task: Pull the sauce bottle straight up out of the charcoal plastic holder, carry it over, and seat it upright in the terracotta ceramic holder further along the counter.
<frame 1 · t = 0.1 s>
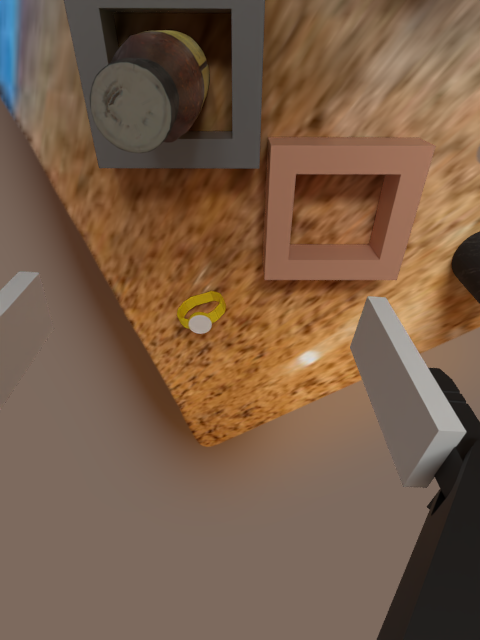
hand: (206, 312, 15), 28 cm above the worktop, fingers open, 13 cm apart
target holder: (332, 206, 41), on the worktop
watch: (203, 297, 48), on the worktop
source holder: (177, 76, 34), on the worktop
sauce bottle: (178, 76, 34), resting in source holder
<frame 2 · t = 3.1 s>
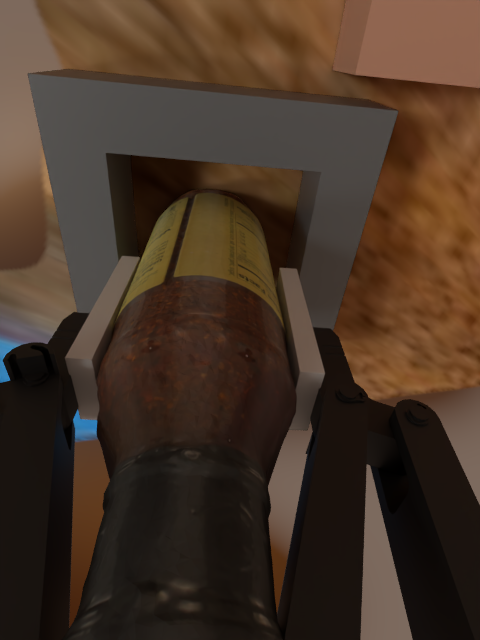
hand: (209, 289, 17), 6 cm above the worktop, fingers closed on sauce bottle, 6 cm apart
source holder: (214, 236, 22), on the worktop
sauce bottle: (214, 234, 22), resting in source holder, touching gripper
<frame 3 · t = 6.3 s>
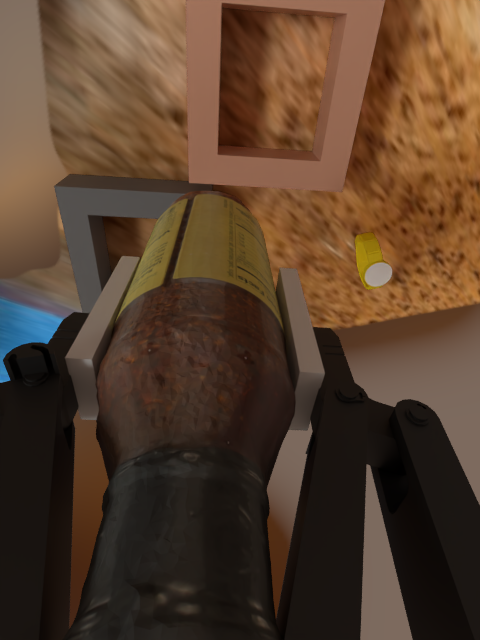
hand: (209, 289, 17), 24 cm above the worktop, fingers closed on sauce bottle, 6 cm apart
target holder: (271, 86, 32), on the worktop
watch: (361, 249, 42), on the worktop
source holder: (148, 248, 41), on the worktop
sauce bottle: (214, 235, 22), point 18 cm above the worktop, touching gripper
when the fingers open (7 cm above the worktop, at t = 9.4 s): sauce bottle drops 1 cm, resting in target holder.
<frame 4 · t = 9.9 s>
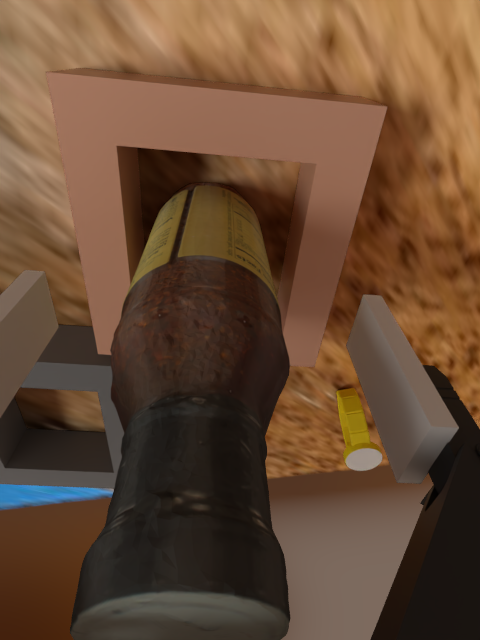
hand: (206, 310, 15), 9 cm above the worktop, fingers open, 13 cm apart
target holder: (216, 226, 23), on the worktop
watch: (344, 399, 32), on the worktop
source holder: (66, 394, 31), on the worktop
sauce bottle: (212, 226, 23), resting in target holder
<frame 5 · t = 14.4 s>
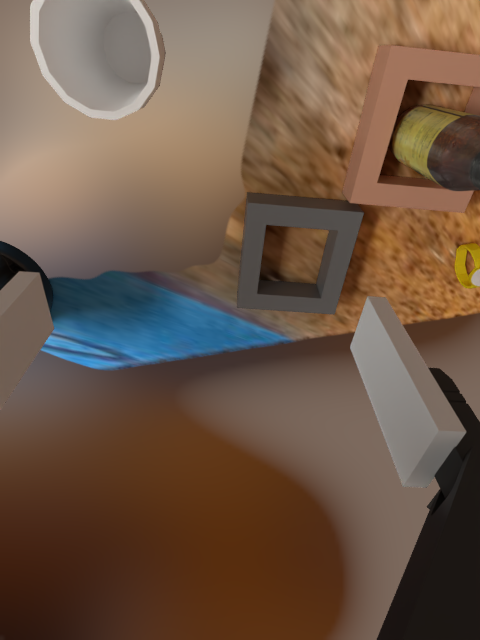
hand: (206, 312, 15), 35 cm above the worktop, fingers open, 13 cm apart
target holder: (417, 132, 43), on the worktop
watch: (459, 256, 53), on the worktop
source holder: (291, 250, 52), on the worktop
foam cup: (135, 49, 38), on the worktop
sauce bottle: (414, 132, 43), resting in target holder
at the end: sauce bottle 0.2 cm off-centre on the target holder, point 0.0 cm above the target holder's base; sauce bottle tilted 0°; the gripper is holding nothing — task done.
